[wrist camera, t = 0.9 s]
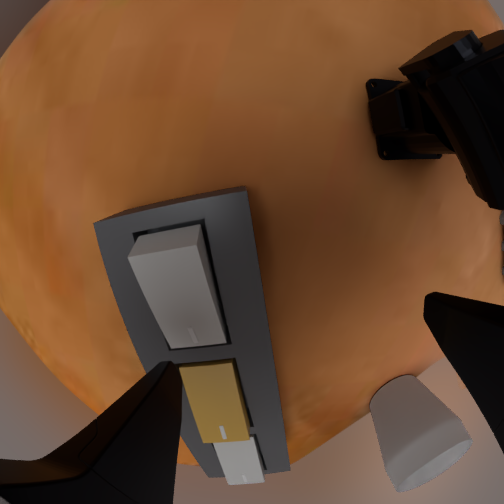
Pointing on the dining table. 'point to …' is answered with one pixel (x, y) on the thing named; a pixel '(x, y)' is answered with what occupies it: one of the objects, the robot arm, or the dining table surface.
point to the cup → (416, 432)
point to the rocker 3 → (241, 461)
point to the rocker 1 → (180, 286)
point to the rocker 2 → (216, 400)
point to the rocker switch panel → (233, 301)
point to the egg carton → (503, 221)
